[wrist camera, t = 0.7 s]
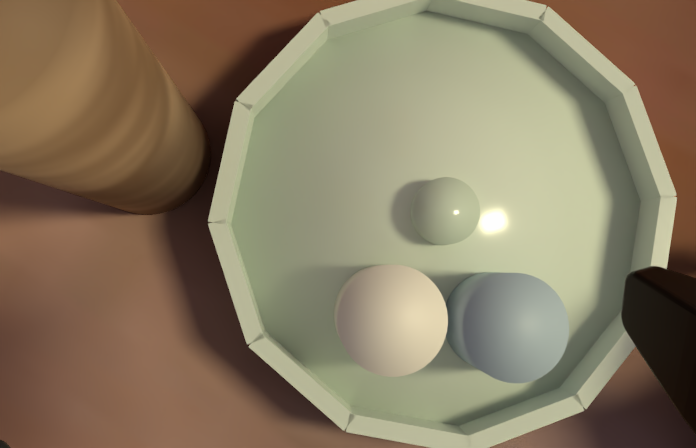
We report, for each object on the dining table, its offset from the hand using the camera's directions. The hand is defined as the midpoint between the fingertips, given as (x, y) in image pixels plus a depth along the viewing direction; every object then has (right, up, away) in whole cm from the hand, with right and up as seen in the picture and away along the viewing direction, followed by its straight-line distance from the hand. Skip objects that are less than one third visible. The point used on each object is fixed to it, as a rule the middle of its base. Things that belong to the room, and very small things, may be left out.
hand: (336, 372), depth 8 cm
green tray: (+4, +2, +13) cm, 14 cm away
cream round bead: (+1, -1, +12) cm, 12 cm away
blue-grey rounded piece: (+5, -1, +12) cm, 14 cm away
